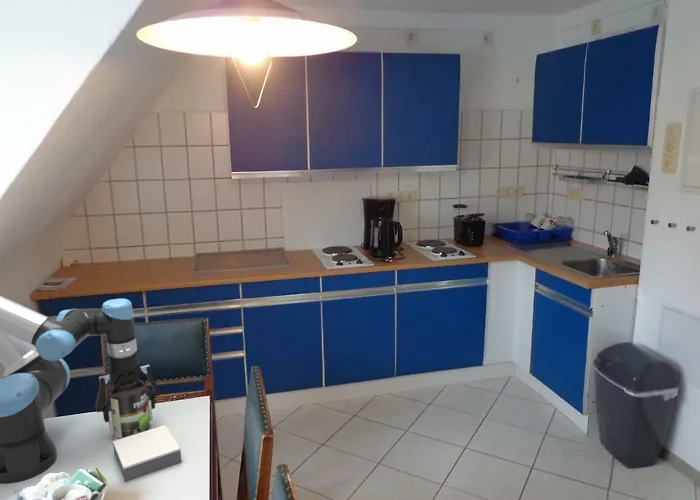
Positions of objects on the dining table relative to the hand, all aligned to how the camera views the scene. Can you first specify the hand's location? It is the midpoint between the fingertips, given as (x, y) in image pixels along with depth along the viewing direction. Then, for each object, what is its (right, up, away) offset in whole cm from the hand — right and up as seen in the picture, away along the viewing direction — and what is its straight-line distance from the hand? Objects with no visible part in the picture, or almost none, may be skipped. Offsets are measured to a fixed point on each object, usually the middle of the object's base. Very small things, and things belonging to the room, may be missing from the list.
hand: (131, 424), depth 152 cm
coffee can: (0, -2, +1) cm, 3 cm away
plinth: (+9, -5, -12) cm, 16 cm away
